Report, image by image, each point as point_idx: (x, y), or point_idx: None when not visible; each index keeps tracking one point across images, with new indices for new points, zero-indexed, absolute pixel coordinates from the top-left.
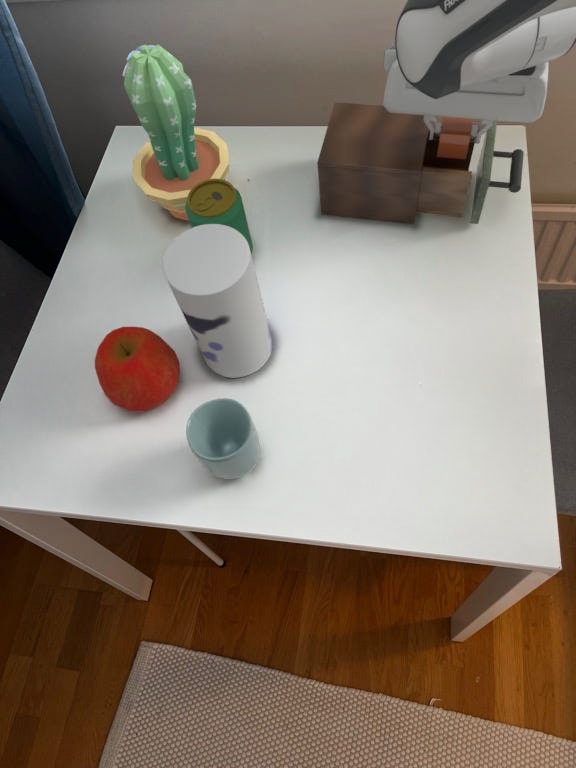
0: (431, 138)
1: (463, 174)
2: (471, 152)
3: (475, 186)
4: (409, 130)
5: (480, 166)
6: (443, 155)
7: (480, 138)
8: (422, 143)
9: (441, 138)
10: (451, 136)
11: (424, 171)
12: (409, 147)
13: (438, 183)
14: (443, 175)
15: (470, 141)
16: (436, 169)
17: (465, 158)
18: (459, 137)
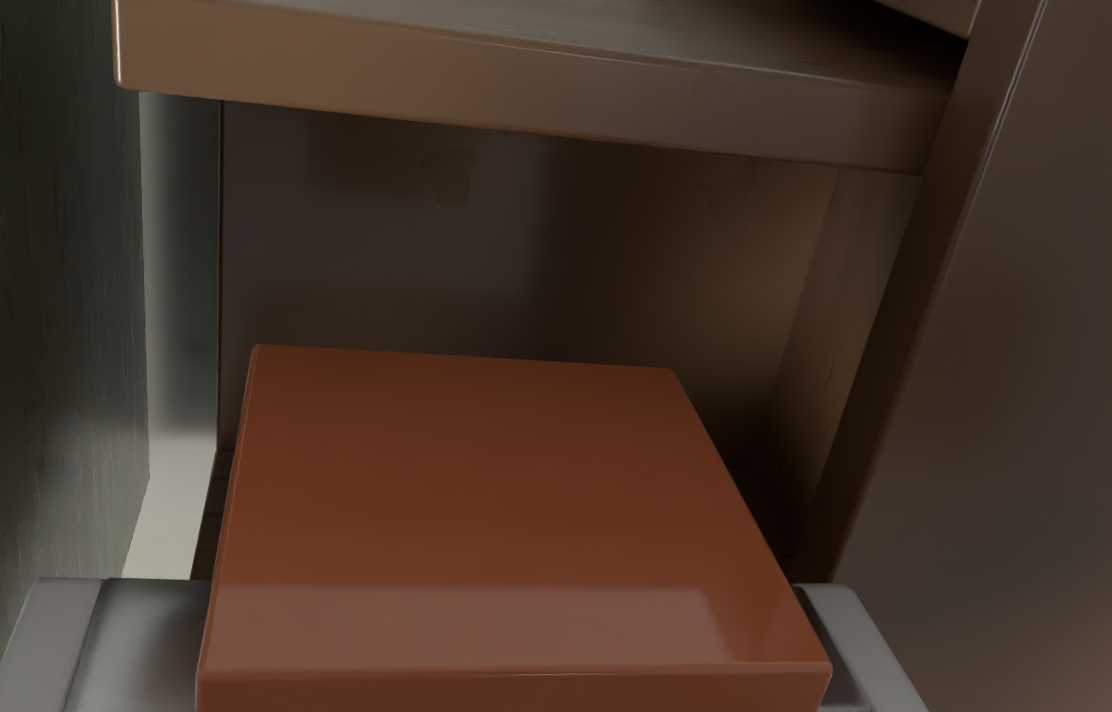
0: (828, 601)
1: (264, 10)
2: (202, 567)
3: (127, 252)
4: (996, 703)
5: (66, 377)
6: (593, 381)
7: (4, 659)
8: (892, 535)
9: (761, 586)
10: (606, 631)
11: (886, 82)
12: (1077, 458)
13: (601, 12)
14: (585, 36)
15: (203, 598)
16: (705, 124)
17: (258, 347)
18: (439, 625)
